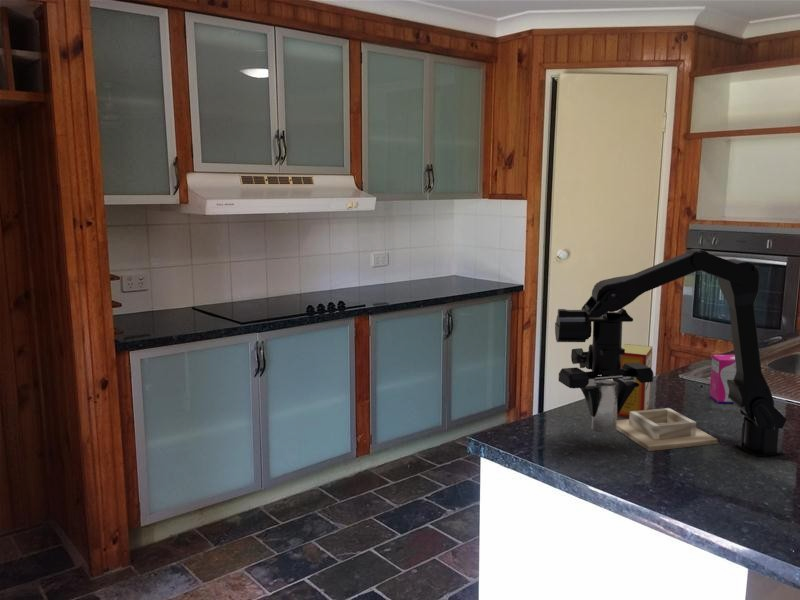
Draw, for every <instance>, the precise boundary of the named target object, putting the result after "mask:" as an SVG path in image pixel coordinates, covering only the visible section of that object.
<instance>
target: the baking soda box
mask: <svg viewBox="0 0 800 600" xmlns="http://www.w3.org/2000/svg"><path fill="white" fill-rule="evenodd" d="M621 348H623V349H625V354H621V368H622V366H623V365H624V364H628V363H641V364H643V365H645V366H647V367H650V368H651V369H652V365H653V363H652V362H653V346H651V345H643V344H642V345H641V344H629V343H625V344H623V345H622V347H621ZM635 382H636V383H638V384H639V387H635V389H634V390H633V391H632V393H631V394H630V396H629V397H628V398H627V400H626V402H625V404H624V405H623V407H622V409H621V411H620V412H619V414H617V417H623V418H629V415H630V411H641V410H650V408H651V392H652V391H651V390H652V389H651V386H652V382H645V383H641V382H639V381H638V380H637V379H635Z"/></svg>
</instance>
